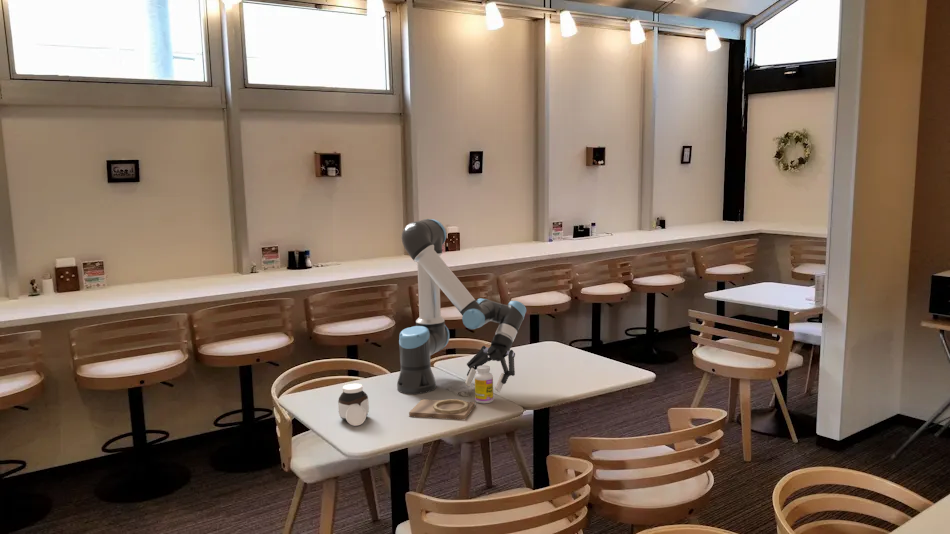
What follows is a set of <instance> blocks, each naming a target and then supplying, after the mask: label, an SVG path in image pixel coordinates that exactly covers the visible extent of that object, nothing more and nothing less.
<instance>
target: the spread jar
mask: <svg viewBox="0 0 950 534" xmlns="http://www.w3.org/2000/svg"><path fill="white" fill-rule="evenodd" d="M369 402H370V401H369V396H368V394H367V393H366V392H365V391H364V389H363V385H362V384H361V383H348V384H344V385H343V386H342V393H341V394H340V395H339V397H338V401H337V406H338V408H337V409H338V414H339V417H340V419H342V420H343V421H345V422H346V421H347V423H348V424H349V425H351V426H355V427H357V426H360V425H362V424H363V423H364V422H365V421H366V418H367V416H368V414H369V411H370V410H369V409H370V406H369Z"/></svg>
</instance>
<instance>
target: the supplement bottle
mask: <svg viewBox="0 0 950 534" xmlns="http://www.w3.org/2000/svg"><path fill="white" fill-rule="evenodd" d="M490 371H491V368H490V365H485V364H483V365H482V366H478V367H477V369H476V374H475V376H474V397H475V403H478V404H490V403H492V402H493V401H494V376H493V374H492V373H491V372H490Z"/></svg>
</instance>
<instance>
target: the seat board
mask: <svg viewBox="0 0 950 534" xmlns="http://www.w3.org/2000/svg"><path fill="white" fill-rule="evenodd" d="M474 406H475V407H476V401H466V400H462V399H455V398H454V399H453V398H449V399H425V398H424V399H421V400H420V401H419V402H418V403H416V404H415V406H413V408H412V409H411V410H410V411H409V412H408V416H409V417H411V416H413V418H414V416H415V417H416V418H428V417H432V418H431V419H446V418H447V419H448V420H449V419H450V420H462V419H465V418H466V419H467V417H468V416H469V415H470V413H471V412H472V411H471V410H474V408H475V407H474ZM470 411H471V412H470ZM468 414H469V415H468ZM466 419H465V420H466Z"/></svg>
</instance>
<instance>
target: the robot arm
mask: <svg viewBox="0 0 950 534" xmlns="http://www.w3.org/2000/svg"><path fill="white" fill-rule="evenodd" d="M446 239H447V230H446V228H445V226H444V225H443V224H442V222H440V221H439V220H437V219H432V218H427V219H422V220H417V221H412V222H409V223H408V224H407V225H405V227H404V228H403V230H402V232H401V242H402V245H403V248H404V250H405V251H406V253H407V254H408V255H409V257H410V258H411V259H412V261H414V263H417V264H416V265H417V288H418V312H419V313H418V314H419V317H418V318H417V319H416V320H415V325H413V326H411V327H406V328H404V329H402V330H401V331H400V332H399V337H398V339H399V340H398V344H399V345H398V346H399V362H400V371H399V375H398V378H397V383H396V390H397V391H398V392H400V393H403V394H409V395H410V394H413V395H414V394H415V395H416V394H424V393H429V392H432V391H434V390H435V389H436V387H437V381H436V379H435V376H434V373H433V371H432V367H431V366H432V365H431V356H432V355H434V354H435V353H438V352H440V351H442V350H443V349H444V348H445V347H446V346H447V345H448V344H449V341H450V330H449V328H448V327H447V325H446V323H445V318H444V317H443V316H441V314H442V313H441V291H442V293H444V295H445V296H446V297H447V299H449V301H450V302H451V304H452V305H453V306H454V307H455V308H456V309H457V311H458V313H460V315H461V316H462V318H461V320H462V323H463V326H464V327H465V328H467V329H468V330H476V329H479V328H481V327H483V326H484V325H486V324H488V323H489V322H493V323H496V324H498V327H497V328H496V331H495V334H494V335H493V337H492V340H491V343H490V345H489V347H487V346H486V345H482V346H481V348H480V350H478V352H477V353H476V354H475V355H474V356H473V357H472V358H471V359H470V360H469V361H468V362H466V366H467V367H468V368H469V369H468V371H467V374H466V376H467V377H466V380H465V382H464V384H465V385H466V386H467V387H471V385H472V382H473V380H474V379H475V375H476V374H477V367H478V366H482V365H485V364H486V363H488V362H491V361H496V362H500V364H501V368H502V371H503V372H501V375H500V377H499V379H498V381H497V383H496V386H494V387H495V388H494V389H495V391H496V392H497V393H498V394H499V393H501V391H502V389H503V387H504V385H505V384H506V383H507V381H508V378H509V377H511V376H512V377H514V376H515V375H516V374H515V373H516V370H515V357H516V353H515V352H514V350H513V349H511V347H512V346H513V342H514V341H515V339H516V336H517V334H518V331H519V330H520V328H521V325H522V323H523V321H524V319H525V316H526V313H527V308H526V306H525V304H523V303H522V302H520V301H518V300H510V301H509V302H508V303H507V304H503V303H500V302H496V301H493V300H490V299H488V298H477V300H476V298H474V296H473V295H472V294H471V293H470V291H469V290H468V289H467V288H466V287H465V285H464V284H463V283H462V281H460V279H459V278H458V277H457V276H456V275H455V273H454V272H453V271H452V270H451V269H450V268H449V266H448V265H447V264H446V263H445V260H443V259H442V257H441V255H442V254H443V245H444V243H445V242H446ZM507 356H508V357H507ZM506 357H507V358H508V365H507V361H506Z"/></svg>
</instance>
